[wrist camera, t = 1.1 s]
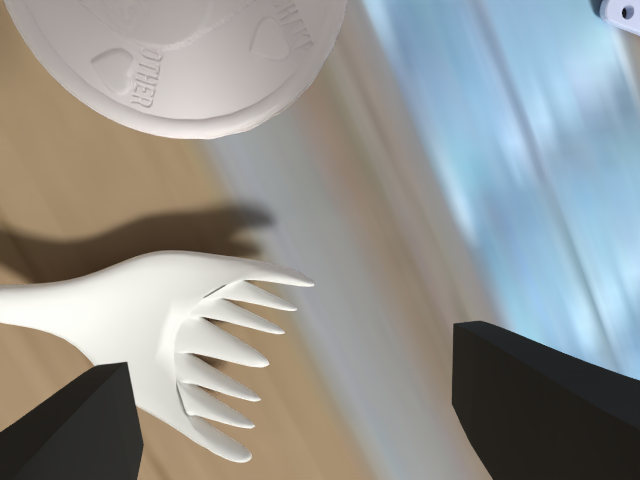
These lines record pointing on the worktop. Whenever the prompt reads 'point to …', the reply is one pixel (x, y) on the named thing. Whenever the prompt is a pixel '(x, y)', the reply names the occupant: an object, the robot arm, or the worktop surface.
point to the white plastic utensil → (163, 330)
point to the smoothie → (182, 57)
